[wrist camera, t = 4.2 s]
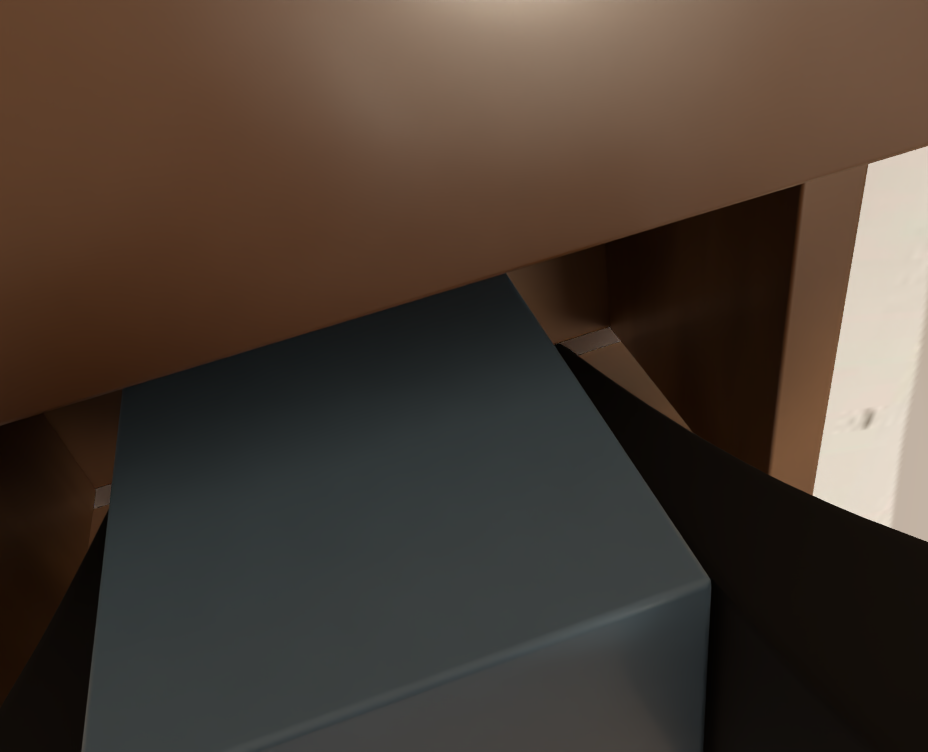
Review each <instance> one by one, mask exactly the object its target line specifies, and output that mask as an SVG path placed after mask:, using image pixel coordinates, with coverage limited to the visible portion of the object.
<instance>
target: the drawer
mask: <svg viewBox="0 0 928 752" xmlns="http://www.w3.org/2000/svg"><path fill="white" fill-rule="evenodd" d="M867 169H868V164H866V165H863V166H859V167H856V168H853V169H849V170H846V171H843V172H840V173H836V174H833V175H830V176H826V177H823V178H820V179H816V180H813V181H810V182H806V183H803V184H800V185H796V186H793V187H790V188H787V189H783V190H780V191H777V192H773V193H770V194H767V195H763V196H760V197H757V198H753V199H750V200H747V201H743V202H740V203H737V204H734V205H730V206H727V207H724V208H720V209H717V210H714V211H710V212H707V213H704V214H700V215H697V216H694V217H690V218H687V219H684V220H681V221H677V222H674V223H671V224H667V225H664V226H661V227H657V228H654V229H651V230H647V231H644V232H641V233H637V234H634V235H631V236H628V237H624V238H621V239H618V240H614V241H611V242H608V243H604V244H601V245H598V246H594V247H591V248H588V249H584V250H581V251H578V252H575V253H571V254H568V255H565V256H561V257H558V258H555V259H551V260H548V261H545V262H541V263H538V264H535V265H531V266H528V267H525V268H522V269H518V270H515V271H512V272H508V273H506V274H507V275H508V277H509V278H510V280H511V281H512V283H513V284H514V286H515V287H516V289H517V290H518V292H519V293H520V295H521V296H522V298H523V299H524V301H525V302H526V304H527V305H528V307H529V308H530V310H531V311H532V313H533V314H534V316H535V317H536V319H537V320H538V322H539V323H540V325H541V326H542V328H543V329H544V331H545V332H546V334H547V335H548V337H549V338H550V340H551V341H552V343H553V344H556V343H560V342H563V341H566V340H569V339H572V338H576V337H579V336H582V335H585V334H588V333H591V332H595V331H598V330H601V329H604V328H607V327H610V326H611V329H612V330H613V332H614V333H615V334H616V335H617V337H618V338H619V339H620V341H621V342H618V343H615V344H611V345H608V346H605V347H602V348H599V349H596V350H593V351H589V352H586V353H583V354H580V355H578V356H579V357H581V358H582V359H583V360H585V361H586V362H588V363H589V364H590V365H592V366H593V367H595V368H596V369H597V370H599V371H600V372H601V373H603V374H604V375H606V376H607V377H609V378H610V379H611V380H613V381H614V382H616V383H617V384H619V385H620V386H622V387H623V388H624V389H626V390H627V391H629V392H630V393H632V394H633V395H635V396H636V397H638V398H639V399H641V400H642V401H644V402H645V403H647V404H648V405H650V406H651V407H653V408H654V409H656V410H658V411H659V412H661V413H662V414H664V415H666V416H667V417H669V418H670V419H672V420H673V421H675V422H677V423H678V424H680V425H681V426H683V427H685V428H686V429H688V430H689V431H691V432H693V433H694V434H696V435H698V436H699V437H701V438H703V439H705V440H706V441H708V442H710V443H711V444H713V445H715V446H717V447H718V448H720V449H722V450H724V451H726V452H727V453H729V454H731V455H733V456H735V457H736V458H738V459H740V460H742V461H744V462H745V463H747V464H749V465H751V466H753V467H755V468H757V469H759V470H761V471H762V472H764V473H766V474H768V475H770V476H772V477H774V478H776V479H778V480H780V481H782V482H784V483H787V484H789V485H791V486H793V487H795V488H797V489H799V490H802V491H804V492H806V493H808V494H810V495H813V489H814V483H815V477H816V471H817V465H818V459H819V453H820V447H821V441H822V435H823V429H824V423H825V418H826V412H827V406H828V400H829V394H830V388H831V382H832V376H833V370H834V364H835V358H836V352H837V346H838V340H839V335H840V329H841V323H842V317H843V311H844V305H845V299H846V293H847V287H848V281H849V275H850V269H851V263H852V257H853V252H854V246H855V240H856V234H857V228H858V222H859V216H860V210H861V204H862V198H863V192H864V186H865V180H866V174H867ZM121 398H122V389H121V390H117V391H114V392H111V393H107V394H104V395H101V396H97V397H94V398H91V399H88V400H84V401H81V402H78V403H74V404H71V405H68V406H64V407H61V408H58V409H54V410H51V411H48V412H44V413H41V414H38V415H35V416H31V417H28V418H25V419H21V420H18V421H15V422H11V423H8V424H5V425H1V426H0V707H1V705H2V704H3V702H4V700H5V699H6V697H7V695H8V694H9V692H10V690H11V689H12V687H13V685H14V684H15V682H16V680H17V679H18V677H19V675H20V674H21V672H22V670H23V668H24V667H25V665H26V663H27V662H28V660H29V658H30V657H31V655H32V653H33V652H34V650H35V648H36V646H37V645H38V643H39V641H40V639H41V638H42V636H43V634H44V632H45V630H46V629H47V627H48V625H49V623H50V621H51V619H52V617H53V615H54V614H55V612H56V610H57V608H58V606H59V604H60V602H61V601H62V599H63V597H64V595H65V593H66V591H67V589H68V588H69V586H70V584H71V582H72V580H73V578H74V576H75V574H76V572H77V570H78V568H79V566H80V565H81V563H82V561H83V559H84V557H85V555H86V553H87V551H88V549H89V547H90V545H91V543H92V541H93V539H94V537H95V535H96V533H97V531H98V529H99V527H100V525H101V523H102V521H103V519H104V517H105V515H106V513H107V511H108V509H109V504H108V505H105V506H101V507H98V508H95V509H94V501H95V494H96V490H95V489H96V488H99V487H102V486H105V485H109V484H112V478H113V469H114V460H115V451H116V442H117V433H118V425H119V416H120V407H121Z"/></svg>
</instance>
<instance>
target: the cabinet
mask: <svg viewBox="0 0 928 752" xmlns="http://www.w3.org/2000/svg"><path fill="white" fill-rule="evenodd" d="M926 146H928V0H0V426H1V425H5V424H8V423H11V422H15V421H18V420H21V419H25V418H28V417H31V416H35V415H38V414H41V413H44V412H48V411H51V410H54V409H58V408H61V407H64V406H68V405H71V404H74V403H78V402H81V401H84V400H88V399H91V398H94V397H97V396H101V395H104V394H107V393H111V392H114V391H117V390H121V389H124V388H127V387H131V386H134V385H137V384H141V383H144V382H147V381H150V380H154V379H157V378H160V377H164V376H167V375H170V374H174V373H177V372H180V371H184V370H187V369H190V368H194V367H197V366H200V365H203V364H207V363H210V362H213V361H217V360H220V359H223V358H227V357H230V356H233V355H237V354H240V353H243V352H247V351H250V350H253V349H256V348H260V347H263V346H266V345H270V344H273V343H276V342H280V341H283V340H286V339H290V338H293V337H296V336H300V335H303V334H306V333H309V332H313V331H316V330H319V329H323V328H326V327H329V326H333V325H336V324H339V323H343V322H346V321H349V320H353V319H356V318H359V317H362V316H366V315H369V314H372V313H376V312H379V311H382V310H386V309H389V308H392V307H396V306H399V305H402V304H406V303H409V302H412V301H415V300H419V299H422V298H425V297H429V296H432V295H435V294H439V293H442V292H445V291H449V290H452V289H455V288H459V287H462V286H465V285H468V284H472V283H475V282H478V281H482V280H485V279H488V278H492V277H495V276H498V275H502V274H505V273H508V272H512V271H515V270H518V269H522V268H525V267H528V266H531V265H535V264H538V263H541V262H545V261H548V260H551V259H555V258H558V257H561V256H565V255H568V254H571V253H575V252H578V251H581V250H584V249H588V248H591V247H594V246H598V245H601V244H604V243H608V242H611V241H614V240H618V239H621V238H624V237H628V236H631V235H634V234H637V233H641V232H644V231H647V230H651V229H654V228H657V227H661V226H664V225H667V224H671V223H674V222H677V221H681V220H684V219H687V218H690V217H694V216H697V215H700V214H704V213H707V212H710V211H714V210H717V209H720V208H724V207H727V206H730V205H734V204H737V203H740V202H743V201H747V200H750V199H753V198H757V197H760V196H763V195H767V194H770V193H773V192H777V191H780V190H783V189H787V188H790V187H793V186H796V185H800V184H803V183H806V182H810V181H813V180H816V179H820V178H823V177H826V176H830V175H833V174H836V173H840V172H843V171H846V170H849V169H853V168H856V167H859V166H863V165H866V164H869V163H873V162H876V161H879V160H883V159H886V158H889V157H893V156H896V155H899V154H902V153H906V152H909V151H912V150H916V149H919V148H922V147H926Z"/></svg>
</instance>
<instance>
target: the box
mask: <svg viewBox="0 0 928 752" xmlns="http://www.w3.org/2000/svg"><path fill="white" fill-rule="evenodd" d="M710 605H711V580H710V578H709V577H708V575H707V574H706V572H705V571H704V569H703V568H702V566H701V565H700V563H699V562H698V560H697V559H696V557H695V556H694V554H693V553H692V551H691V550H690V548H689V547H688V545H687V544H686V542H685V541H684V539H683V538H682V536H681V535H680V533H679V532H678V530H677V529H676V527H675V526H674V524H673V523H672V521H671V520H670V518H669V517H668V515H667V514H666V512H665V511H664V509H663V508H662V506H661V505H660V503H659V502H658V500H657V499H656V497H655V496H654V494H653V493H652V491H651V490H650V488H649V487H648V485H647V484H646V482H645V481H644V479H643V478H642V476H641V475H640V473H639V472H638V470H637V469H636V467H635V466H634V464H633V463H632V461H631V460H630V458H629V457H628V455H627V454H626V452H625V451H624V449H623V448H622V446H621V445H620V443H619V442H618V440H617V439H616V437H615V436H614V434H613V433H612V431H611V430H610V428H609V427H608V425H607V424H606V422H605V421H604V419H603V418H602V416H601V415H600V413H599V412H598V410H597V409H596V407H595V406H594V404H593V403H592V401H591V400H590V398H589V397H588V395H587V394H586V392H585V391H584V389H583V388H582V386H581V385H580V383H579V382H578V380H577V379H576V377H575V376H574V374H573V373H572V371H571V370H570V368H569V367H568V365H567V364H566V362H565V361H564V359H563V358H562V356H561V355H560V353H559V352H558V350H557V349H556V347H555V346H554V344H553V343H552V341H551V340H550V338H549V337H548V335H547V334H546V332H545V331H544V329H543V328H542V326H541V325H540V323H539V322H538V320H537V319H536V317H535V316H534V314H533V313H532V311H531V310H530V308H529V307H528V305H527V304H526V302H525V301H524V299H523V298H522V296H521V295H520V293H519V292H518V290H517V289H516V287H515V286H514V284H513V283H512V281H511V280H510V278H509V277H508V275H507V274H506V273H505V274H502V275H498V276H495V277H492V278H488V279H485V280H482V281H478V282H475V283H472V284H468V285H465V286H462V287H459V288H455V289H452V290H449V291H445V292H442V293H439V294H435V295H432V296H429V297H425V298H422V299H419V300H415V301H412V302H409V303H406V304H402V305H399V306H396V307H392V308H389V309H386V310H382V311H379V312H376V313H372V314H369V315H366V316H362V317H359V318H356V319H353V320H349V321H346V322H343V323H339V324H336V325H333V326H329V327H326V328H323V329H319V330H316V331H313V332H309V333H306V334H303V335H300V336H296V337H293V338H290V339H286V340H283V341H280V342H276V343H273V344H270V345H266V346H263V347H260V348H256V349H253V350H250V351H247V352H243V353H240V354H237V355H233V356H230V357H227V358H223V359H220V360H217V361H213V362H210V363H207V364H203V365H200V366H197V367H194V368H190V369H187V370H184V371H180V372H177V373H174V374H170V375H167V376H164V377H160V378H157V379H154V380H150V381H147V382H144V383H141V384H137V385H134V386H131V387H127V388H124V389H122V398H121V407H120V416H119V425H118V433H117V442H116V451H115V460H114V469H113V478H112V486H111V495H110V504H109V513H108V522H107V530H106V539H105V548H104V557H103V566H102V575H101V583H100V592H99V601H98V610H97V619H96V628H95V636H94V645H93V654H92V663H91V672H90V680H89V689H88V698H87V707H86V716H85V725H84V733H83V742H82V751H81V752H703V745H704V725H705V705H706V685H707V665H708V645H709V625H710Z"/></svg>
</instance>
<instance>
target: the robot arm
mask: <svg viewBox="0 0 928 752" xmlns="http://www.w3.org/2000/svg"><path fill="white" fill-rule="evenodd" d="M554 346H555V347H556V349H557V350H558V352H559V353H560V355H561V356H562V358H563V359H564V361H565V362H566V364H567V365H568V367H569V368H570V370H571V371H572V373H573V374H574V376H575V377H576V379H577V380H578V382H579V383H580V385H581V386H582V388H583V389H584V391H585V392H586V394H587V395H588V397H589V398H590V400H591V401H592V403H593V404H594V406H595V407H596V409H597V410H598V412H599V413H600V415H601V416H602V418H603V419H604V421H605V422H606V424H607V425H608V427H609V428H610V430H611V431H612V433H613V434H614V436H615V437H616V439H617V440H618V442H619V443H620V445H621V446H622V448H623V449H624V451H625V452H626V454H627V455H628V457H629V458H630V460H631V461H632V463H633V464H634V466H635V467H636V469H637V470H638V472H639V473H640V475H641V476H642V478H643V479H644V481H645V482H646V484H647V485H648V487H649V488H650V490H651V491H652V493H653V494H654V496H655V497H656V499H657V500H658V502H659V503H660V505H661V506H662V508H663V509H664V511H665V512H666V514H667V515H668V517H669V518H670V520H671V521H672V523H673V524H674V526H675V527H676V529H677V530H678V532H679V533H680V535H681V536H682V538H683V539H684V541H685V542H686V544H687V545H688V547H689V548H690V550H691V551H692V553H693V554H694V556H695V557H696V559H697V560H698V562H699V563H700V565H701V566H702V568H703V569H704V571H705V572H706V574H707V575H708V577H709V578H710V580H711V605H710V625H709V645H708V665H707V685H706V705H705V725H704V745H703V752H928V542H926V541H924V540H921V539H918V538H916V537H913V536H911V535H908V534H905V533H902V532H900V531H897V530H895V529H892V528H889V527H887V526H884V525H882V524H879V523H876V522H874V521H871V520H868V519H866V518H863V517H861V516H858V515H856V514H854V513H851V512H849V511H846V510H844V509H842V508H839V507H837V506H834V505H832V504H830V503H828V502H825V501H823V500H821V499H819V498H817V497H815V496H812V495H810V494H808V493H806V492H804V491H802V490H799V489H797V488H795V487H793V486H791V485H789V484H787V483H784V482H782V481H780V480H778V479H776V478H774V477H772V476H770V475H768V474H766V473H764V472H762V471H761V470H759V469H757V468H755V467H753V466H751V465H749V464H747V463H745V462H744V461H742V460H740V459H738V458H736V457H735V456H733V455H731V454H729V453H727V452H726V451H724V450H722V449H720V448H718V447H717V446H715V445H713V444H711V443H710V442H708V441H706V440H705V439H703V438H701V437H699V436H698V435H696V434H694V433H693V432H691V431H689V430H688V429H686V428H685V427H683V426H681V425H680V424H678V423H677V422H675V421H673V420H672V419H670V418H669V417H667V416H666V415H664V414H662V413H661V412H659V411H658V410H656V409H654V408H653V407H651V406H650V405H648V404H647V403H645V402H644V401H642V400H641V399H639V398H638V397H636V396H635V395H633V394H632V393H630V392H629V391H627V390H626V389H624V388H623V387H622V386H620V385H619V384H617V383H616V382H614V381H613V380H611V379H610V378H609V377H607V376H606V375H604V374H603V373H601V372H600V371H599V370H597V369H596V368H595V367H593V366H592V365H590V364H589V363H588V362H586V361H585V360H583V359H582V358H581V357H579V356H578V355H577V354H575V353H574V352H572V351H571V350H570V349H568V348H567V347H565V346H563V345H561V344H560V343H559V344H555V345H554ZM108 513H109V509H108V511H107V513H106V515H105V517H104V519H103V521H102V523H101V525H100V527H99V529H98V531H97V533H96V535H95V537H94V539H93V541H92V543H91V545H90V547H89V549H88V551H87V553H86V555H85V557H84V559H83V561H82V563H81V565H80V566H79V568H78V570H77V572H76V574H75V576H74V578H73V580H72V582H71V584H70V586H69V588H68V589H67V591H66V593H65V595H64V597H63V599H62V601H61V602H60V604H59V606H58V608H57V610H56V612H55V614H54V615H53V617H52V619H51V621H50V623H49V625H48V627H47V629H46V630H45V632H44V634H43V636H42V638H41V639H40V641H39V643H38V645H37V646H36V648H35V650H34V652H33V653H32V655H31V657H30V658H29V660H28V662H27V663H26V665H25V667H24V668H23V670H22V672H21V674H20V675H19V677H18V679H17V680H16V682H15V684H14V685H13V687H12V689H11V690H10V692H9V694H8V695H7V697H6V699H5V700H4V702H3V704H2V705H1V707H0V752H81V751H82V742H83V733H84V725H85V716H86V707H87V698H88V689H89V680H90V672H91V663H92V654H93V645H94V636H95V628H96V619H97V610H98V601H99V592H100V583H101V575H102V566H103V557H104V548H105V539H106V530H107V522H108Z"/></svg>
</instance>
